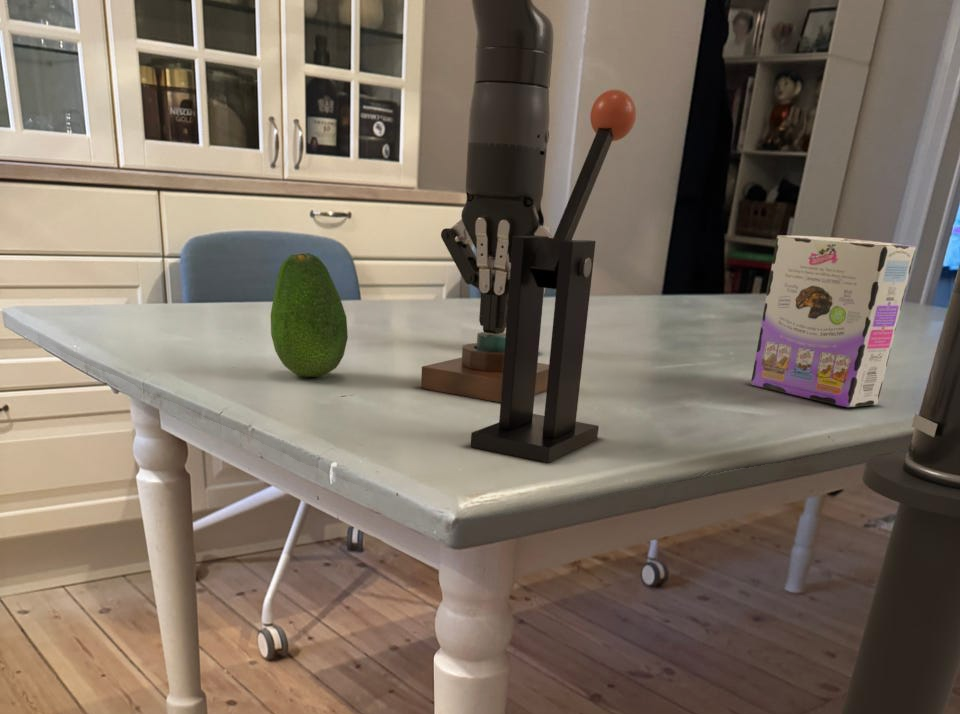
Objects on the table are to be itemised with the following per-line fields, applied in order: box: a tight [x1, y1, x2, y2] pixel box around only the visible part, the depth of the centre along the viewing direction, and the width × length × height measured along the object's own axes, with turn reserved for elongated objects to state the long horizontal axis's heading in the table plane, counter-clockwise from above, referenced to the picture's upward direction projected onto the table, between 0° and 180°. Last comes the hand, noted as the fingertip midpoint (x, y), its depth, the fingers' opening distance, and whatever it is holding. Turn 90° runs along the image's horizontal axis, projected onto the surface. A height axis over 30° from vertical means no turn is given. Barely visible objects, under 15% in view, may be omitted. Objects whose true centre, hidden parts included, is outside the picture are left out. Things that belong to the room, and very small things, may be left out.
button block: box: [420, 342, 549, 404], centre depth 97 cm, size 10×12×4 cm
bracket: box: [470, 235, 600, 464], centre depth 74 cm, size 10×7×16 cm
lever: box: [530, 88, 637, 290], centre depth 73 cm, size 17×4×4 cm
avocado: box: [270, 252, 349, 379], centre depth 94 cm, size 8×8×12 cm
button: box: [476, 331, 506, 352], centre depth 96 cm, size 4×4×2 cm
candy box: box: [750, 234, 917, 408], centre depth 102 cm, size 14×6×16 cm, turn 35°
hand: (494, 332), depth 95 cm, fingers closed
